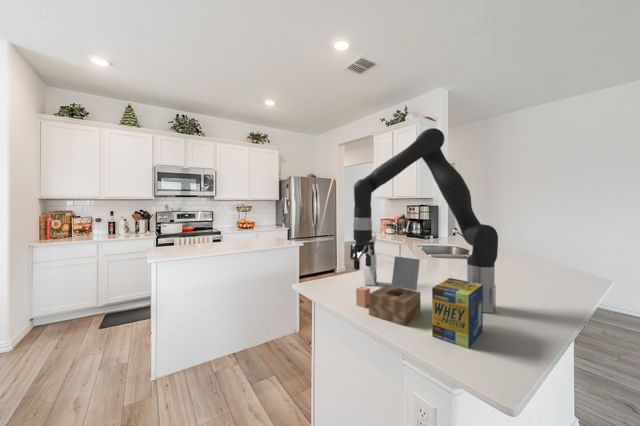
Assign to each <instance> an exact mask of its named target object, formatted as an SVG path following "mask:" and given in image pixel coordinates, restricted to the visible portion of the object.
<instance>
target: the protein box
mask: <svg viewBox="0 0 640 426" xmlns="http://www.w3.org/2000/svg"><path fill="white" fill-rule="evenodd" d="M431 294H432V295H431V296H432V297H431V299H432V300H431V302H432V303H431V313H432V314H431V315H432V316H431V320H432V322H431V323H432V324H431V325H432V326H431V327H432V329H431V332H432V333H431V334H432V337H433V338H436V339H439V340H442V341H445V342H448V343H452V344H453V345H456V346H460V347H462V348H466V349H469V348H470V347H471V346H472V344H473V343H474V342H475V341H476V340H477V338H478V337H479V336H480V334H482V332H483V327H484V326H483V322H484V321H483V319H484V314H483V313H484V312H483V284H479V283H473V282H468V281H467V280H462V279H456V278H452V277H449V278H447V279H446V280H444V281H442V282H440V283H438V284H436V285H434V286H433V287H432V289H431Z"/></svg>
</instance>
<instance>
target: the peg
mask: <svg viewBox="0 0 640 426" xmlns="http://www.w3.org/2000/svg"><path fill="white" fill-rule="evenodd" d="M355 290H356V291H355V293H356V294H355V295H356V297H355V300H356V302H355V304H356V306H357V307H361V308H363V309H364V308H367V307H369V293H371V288H370V287H368V286H358V287H357V288H356V289H355Z"/></svg>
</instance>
